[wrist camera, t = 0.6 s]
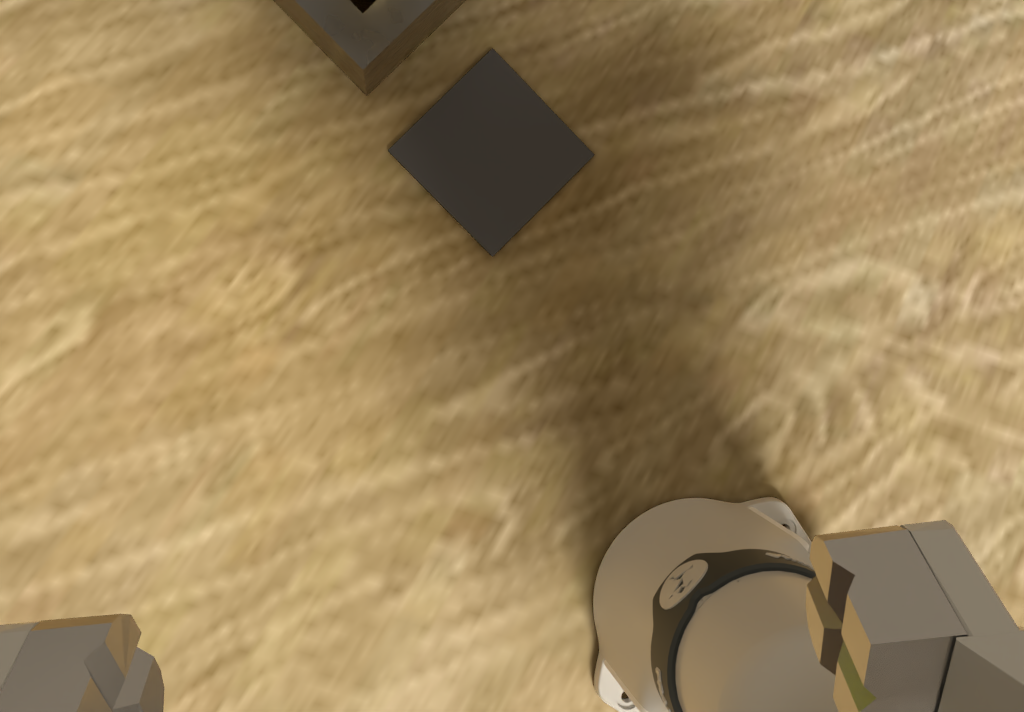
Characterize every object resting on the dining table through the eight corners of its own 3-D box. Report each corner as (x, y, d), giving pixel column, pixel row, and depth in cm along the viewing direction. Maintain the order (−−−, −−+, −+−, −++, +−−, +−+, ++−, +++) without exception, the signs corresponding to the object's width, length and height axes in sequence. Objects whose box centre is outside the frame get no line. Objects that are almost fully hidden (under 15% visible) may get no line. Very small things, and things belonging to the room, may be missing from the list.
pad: (593, 155, 64) (594, 154, 63) (492, 256, 63) (492, 256, 63) (492, 49, 63) (492, 48, 62) (388, 151, 62) (388, 150, 62)
